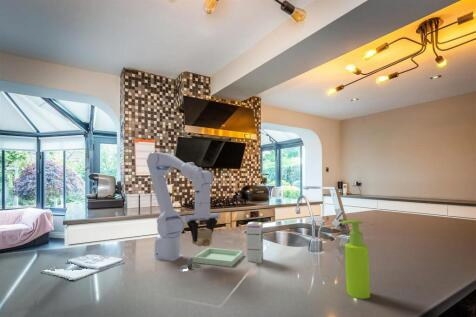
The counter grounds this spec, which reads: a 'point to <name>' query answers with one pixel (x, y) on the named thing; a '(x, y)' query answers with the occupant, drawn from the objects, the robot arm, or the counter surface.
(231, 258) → the tray
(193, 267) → the silver knobbed lid
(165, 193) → the robot arm
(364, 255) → the soap dispenser
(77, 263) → the bicycle print towel
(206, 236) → the tan wooden hollow block
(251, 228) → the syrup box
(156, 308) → the counter surface
